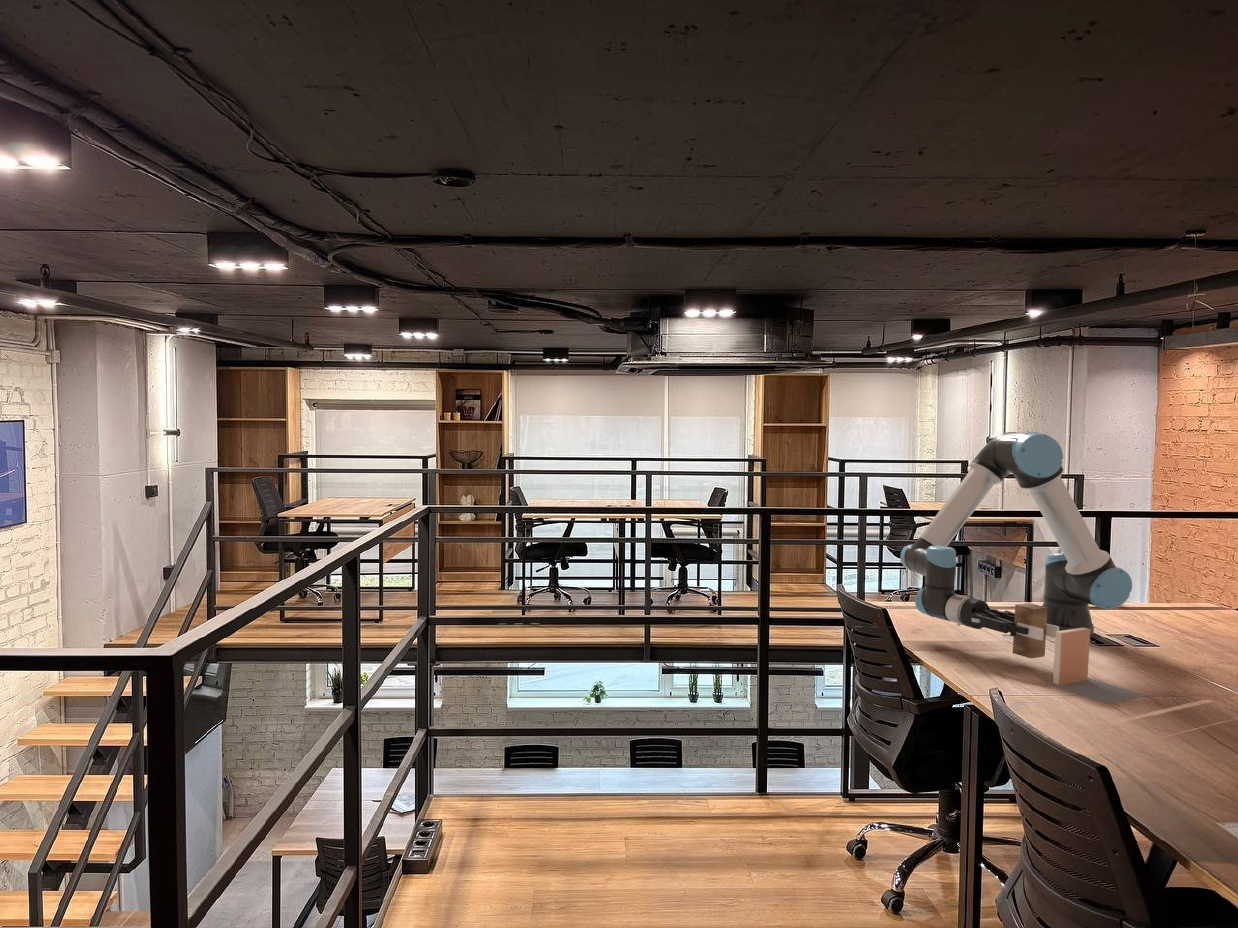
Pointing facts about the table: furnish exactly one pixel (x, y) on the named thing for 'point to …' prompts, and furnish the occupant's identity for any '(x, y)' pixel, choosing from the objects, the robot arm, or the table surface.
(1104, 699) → the slate mat
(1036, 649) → the walnut block
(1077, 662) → the tile
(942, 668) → the table surface
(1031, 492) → the robot arm
